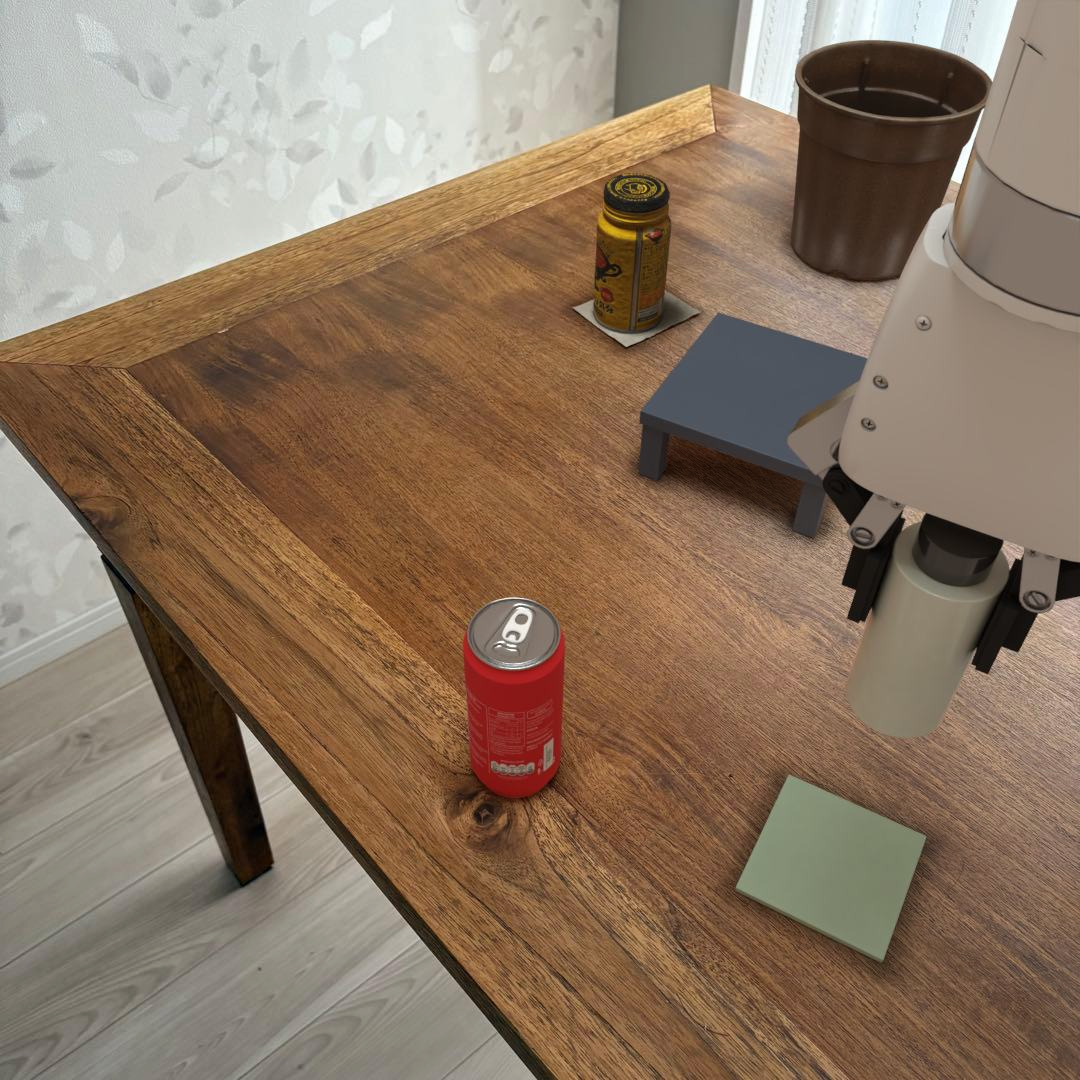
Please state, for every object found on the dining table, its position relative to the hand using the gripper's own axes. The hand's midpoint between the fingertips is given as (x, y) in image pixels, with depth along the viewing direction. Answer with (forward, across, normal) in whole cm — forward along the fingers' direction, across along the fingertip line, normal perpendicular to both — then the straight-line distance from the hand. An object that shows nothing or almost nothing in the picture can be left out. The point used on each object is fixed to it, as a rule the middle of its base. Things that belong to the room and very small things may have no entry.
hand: (926, 620), depth 46 cm
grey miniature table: (+20, +16, -30) cm, 40 cm away
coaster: (+20, 0, 0) cm, 20 cm away
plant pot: (+21, +19, -62) cm, 68 cm away
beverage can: (+21, +18, +3) cm, 27 cm away
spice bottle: (+5, 0, 0) cm, 5 cm away
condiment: (+21, +32, -42) cm, 57 cm away
